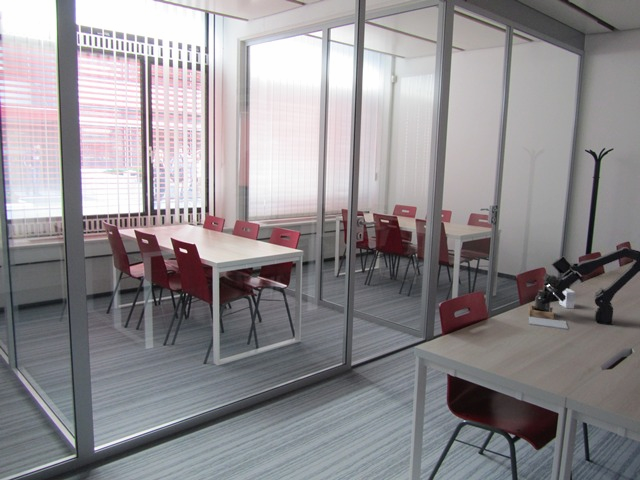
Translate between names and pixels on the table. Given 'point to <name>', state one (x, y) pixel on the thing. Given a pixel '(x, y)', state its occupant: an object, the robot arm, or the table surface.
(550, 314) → the tan wooden bay
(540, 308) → the supplement bottle
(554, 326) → the slate mat
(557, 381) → the table surface
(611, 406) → the table surface
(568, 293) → the medicine box
